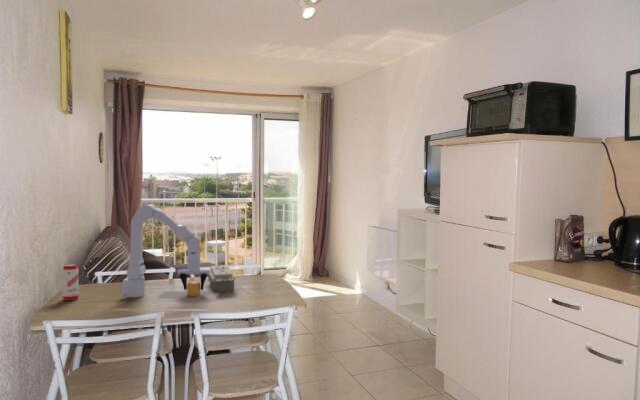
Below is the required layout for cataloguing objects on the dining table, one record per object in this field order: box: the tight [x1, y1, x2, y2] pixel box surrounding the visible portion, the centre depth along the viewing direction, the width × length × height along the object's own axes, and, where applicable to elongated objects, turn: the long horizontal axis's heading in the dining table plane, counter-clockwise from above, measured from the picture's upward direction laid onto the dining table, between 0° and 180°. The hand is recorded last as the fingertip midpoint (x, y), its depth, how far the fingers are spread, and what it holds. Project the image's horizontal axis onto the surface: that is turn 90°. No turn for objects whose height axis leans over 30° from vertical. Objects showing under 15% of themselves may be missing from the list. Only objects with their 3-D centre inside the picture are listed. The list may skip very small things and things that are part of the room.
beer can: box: [62, 263, 80, 301], centre depth 204 cm, size 6×6×16 cm
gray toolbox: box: [207, 264, 236, 293], centre depth 229 cm, size 12×28×10 cm, turn 20°
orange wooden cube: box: [186, 281, 201, 296], centre depth 213 cm, size 6×6×6 cm
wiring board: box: [157, 291, 211, 299], centre depth 211 cm, size 22×12×5 cm, turn 93°
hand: (193, 289), depth 213 cm, fingers open, 7 cm apart
